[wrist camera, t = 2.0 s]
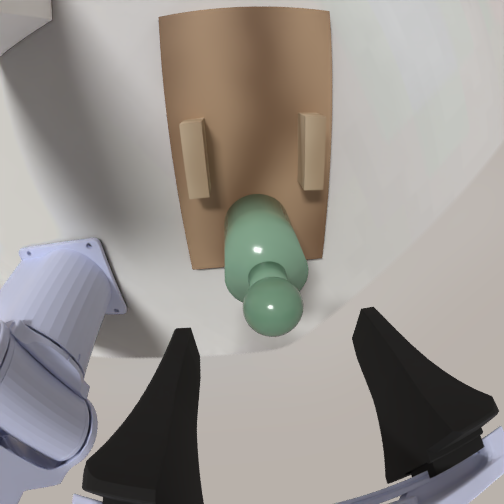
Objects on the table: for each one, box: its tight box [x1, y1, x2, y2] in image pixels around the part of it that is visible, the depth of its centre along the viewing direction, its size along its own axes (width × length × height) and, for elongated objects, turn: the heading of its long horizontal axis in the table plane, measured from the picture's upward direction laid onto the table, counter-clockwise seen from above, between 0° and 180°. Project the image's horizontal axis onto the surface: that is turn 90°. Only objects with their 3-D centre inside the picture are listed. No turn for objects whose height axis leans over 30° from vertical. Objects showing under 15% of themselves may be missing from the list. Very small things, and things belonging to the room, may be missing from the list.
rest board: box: [159, 7, 332, 270], centre depth 16 cm, size 10×18×2 cm, turn 3°
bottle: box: [224, 194, 308, 337], centre depth 16 cm, size 4×4×9 cm
